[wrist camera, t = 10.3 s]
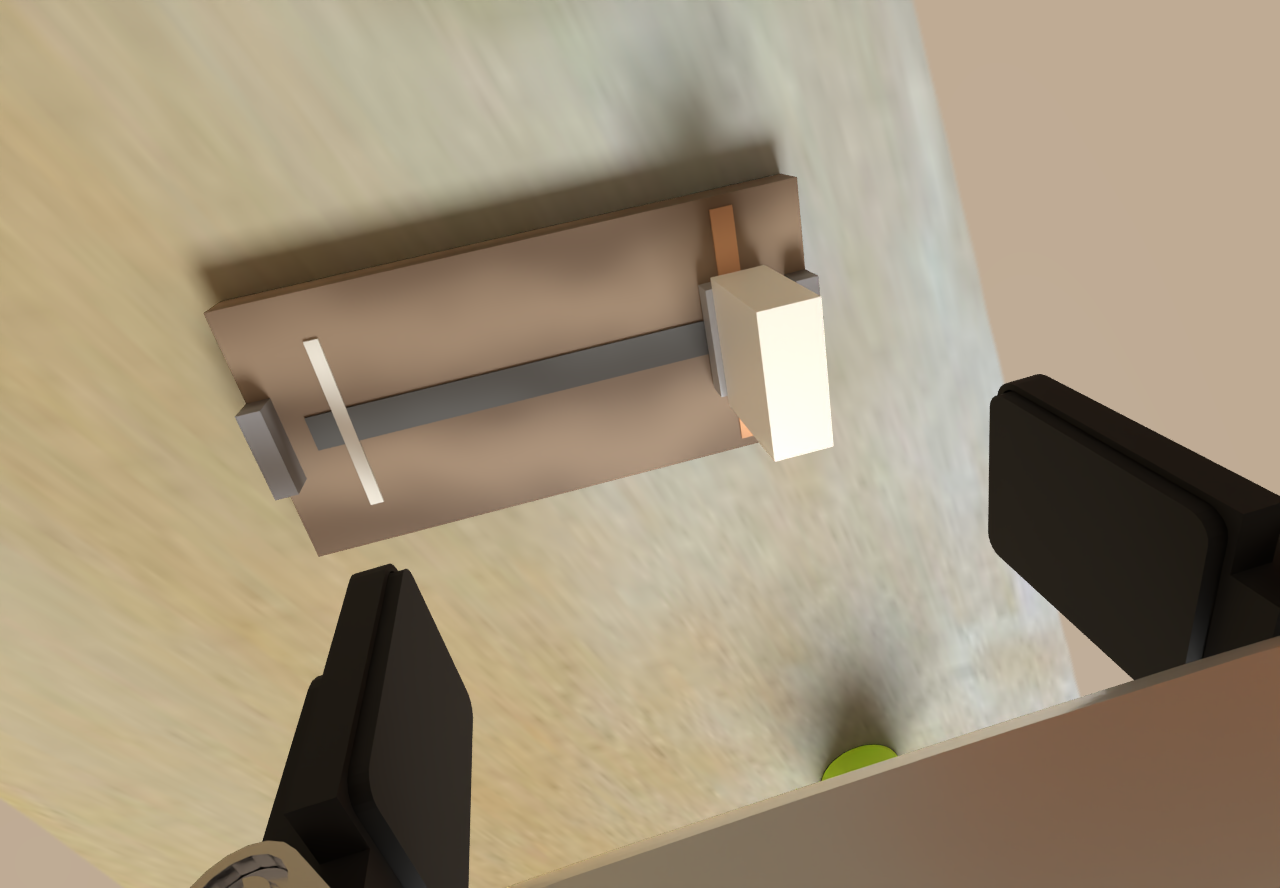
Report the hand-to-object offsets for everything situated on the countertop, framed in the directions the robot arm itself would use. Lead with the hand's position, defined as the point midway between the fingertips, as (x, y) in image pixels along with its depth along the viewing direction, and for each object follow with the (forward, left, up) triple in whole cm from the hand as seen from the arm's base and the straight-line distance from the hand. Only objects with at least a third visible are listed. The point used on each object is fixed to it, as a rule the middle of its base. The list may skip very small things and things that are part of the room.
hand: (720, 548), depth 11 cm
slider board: (+4, -2, -24) cm, 24 cm away
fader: (+4, +7, -22) cm, 23 cm away
